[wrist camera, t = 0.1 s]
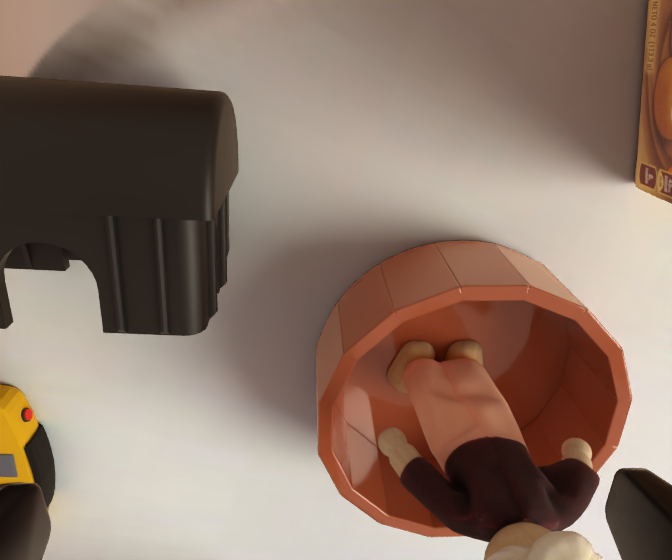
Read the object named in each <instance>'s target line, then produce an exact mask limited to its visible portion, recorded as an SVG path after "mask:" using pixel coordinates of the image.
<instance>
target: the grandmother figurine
mask: <svg viewBox="0 0 672 560" xmlns="http://www.w3.org/2000/svg"><path fill="white" fill-rule="evenodd" d="M434 358H435V350H434V348H433V346H432V345H430V344H429V343H427V342H423V341H418V340H413V341H410V342H408V343H406V344H405V345H404V346H403V347H402V349H401V350H400V352H399V353H398V355H397V356H396V358H395V360H394V361H393V363H392V365H391V366H390V368H389V370H388V373H387V377H388V381H389V383H390V384H391V385H392V387H393V388H394V389H396V390H398V391H399V392H401V393H405V394H409V396H410V399H411V401H412V404H413V406H414V408H415V411H416V414H417V416H418V419H419V422H420V425H421V427H422V430H423V433H424V436H425V438H426V441H427V443H428V445H429V448H430V450H431V452H432V454H433V455H434V456H435V458H436V460H437V461H438V463H439V465H440V466H441V468H442V470H443V471H444V473H445V474H446V477H447V479H448V480H447V479H445V478H444V477H443V476H442V474H441V473H440V472H439V471H438V470H437V469H436V468H435V467H434V466H433V465H432V464H431V463H430V462H428V461H427V460H426V459H425V458H423V457H422V456H421V455H420V454H419V453H418V451H417V450H416V449H415V447H414V446H412V445H411V444H408V443H407V439H406V436H405V435H404V433H403V432H402V431H401V430H399V429H398V428H395V427H390V428H386V429H385V430H383V431H382V432H381V434H380V435H379V438H378V445H379V448H380V450H381V452H382V453H383V454H385V455H386V456H388V457H389V460H390V464H391V465H392V467H393V468H394V470H395V471H396V473H397V474H398V476H399V477H400V482H401V484H402V485H403V486H404V487H405V488H406V489H407V490H408V491H409V492H410V493H411V494H412V495H413V496H414V497H415V498H416V499H417V500H418V501H419V502H420V503H421V504H422V505H423V506H424V507H426V508H427V509H428V510H429V511H430V512H431V513H432V514H433V515H434V516H435V517H437V518H438V519H439V520H440V521H441V522H442V523H443V524H444V525H445V526H446V527H447V528H449V529H450V530H451V531H453V532H455V533H458V534H460V535H464V536H467V537H471V538H474V539H478V540H482V541H486V542H489V544H488V546H487V549H486V551H485V557H484V560H602V556H600V555H599V554H597V553H595V552H594V550H593V548H592V545H591V544H590V542H589V541H588V540H587V539H585V538H584V537H583V536H582V535H580V534H578V533H576V532H572V531H562V530H564V529H565V528H567V527H569V526H571V525H572V524H573V523H574V522H575V521H576V520H578V519H579V517H580V516H581V515H582V514H583V512H584V511H585V510H586V508H587V507H588V505H589V503H590V501H591V499H592V497H593V495H594V493H595V491H596V489H597V487H598V485H599V476H598V474H597V473H596V472H595V471H594V470H593V466H592V461H591V458H592V450H591V448H590V446H589V444H588V443H587V442H585V441H584V440H582V439H580V438H570V439H567V440H566V441H565V442H564V443H563V445H562V449H561V450H562V455H563V457H562V459H561V461H559V462H556V463H553V464H551V465H545V466H540V467H537V466H536V465H535V463H534V462H533V460H532V459H531V457H530V454H529V451H528V449H527V446H526V444H525V442H524V440H523V437H522V434H521V432H520V429H519V427H518V425H517V423H516V420H515V419H514V417H513V414H512V412H511V410H510V408H509V406H508V404H507V402H506V401H505V399H504V398H503V396H502V395H501V393H500V392H499V390H498V389H497V387H496V386H495V384H494V383H493V381H492V380H491V378H490V376H489V374H488V373H487V371H486V370H485V369H484V367H483V356H482V348H481V346H480V345H479V344H478V343H477V342H476V341H472V340H462V341H457V342H455V343H453V344H452V345H451V346H450V347H449V349H448V351H447V354H446V358H445V361H443V362H437V361H435V360H434Z"/></svg>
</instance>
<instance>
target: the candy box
mask: <svg viewBox="0 0 672 560" xmlns="http://www.w3.org/2000/svg"><path fill="white" fill-rule="evenodd" d="M635 184H636V187H637V188H638V189H641V190H643V191H645V192H647V193H649V194H651V195H653V196H656V197H657V198H660V199H662V200H665V201H667V202H669V203H671V204H672V0H649V5H648V17H647V30H646V42H645V54H644V69H643V82H642V96H641V111H640V126H639V143H638V158H637V162H636V170H635Z"/></svg>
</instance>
